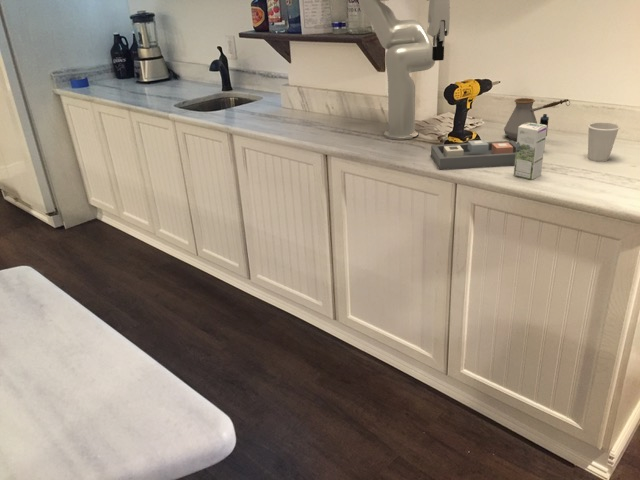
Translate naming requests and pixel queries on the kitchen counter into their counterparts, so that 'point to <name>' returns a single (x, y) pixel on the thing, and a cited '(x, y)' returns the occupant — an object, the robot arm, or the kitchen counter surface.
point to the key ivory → (453, 151)
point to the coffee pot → (524, 115)
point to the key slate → (478, 146)
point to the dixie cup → (601, 140)
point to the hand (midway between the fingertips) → (437, 60)
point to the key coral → (501, 148)
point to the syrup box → (530, 150)
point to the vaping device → (544, 121)
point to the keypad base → (472, 157)
